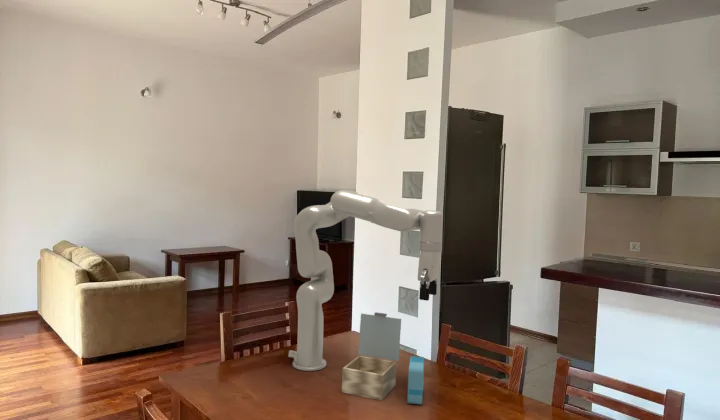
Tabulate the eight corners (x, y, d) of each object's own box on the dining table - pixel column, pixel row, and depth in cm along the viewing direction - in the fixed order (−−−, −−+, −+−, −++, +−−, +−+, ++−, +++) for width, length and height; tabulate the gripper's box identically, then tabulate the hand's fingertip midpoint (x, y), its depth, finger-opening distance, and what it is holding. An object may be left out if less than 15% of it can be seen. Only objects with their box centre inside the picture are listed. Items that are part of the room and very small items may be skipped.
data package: (421, 406, 158) (423, 368, 157) (407, 404, 159) (408, 367, 158) (422, 391, 170) (424, 355, 169) (409, 389, 171) (410, 354, 170)
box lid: (360, 310, 179) (361, 310, 181) (357, 354, 179) (358, 353, 180) (400, 316, 173) (401, 315, 175) (397, 361, 173) (398, 360, 174)
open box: (341, 392, 167) (342, 368, 166) (358, 377, 179) (358, 355, 179) (381, 400, 161) (382, 375, 161) (395, 384, 174) (396, 362, 174)
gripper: (426, 243, 181) (424, 291, 182) (412, 248, 165) (409, 300, 166) (447, 245, 178) (444, 293, 179) (434, 250, 162) (432, 303, 163)
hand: (428, 297), depth 172 cm, fingers open, 9 cm apart
